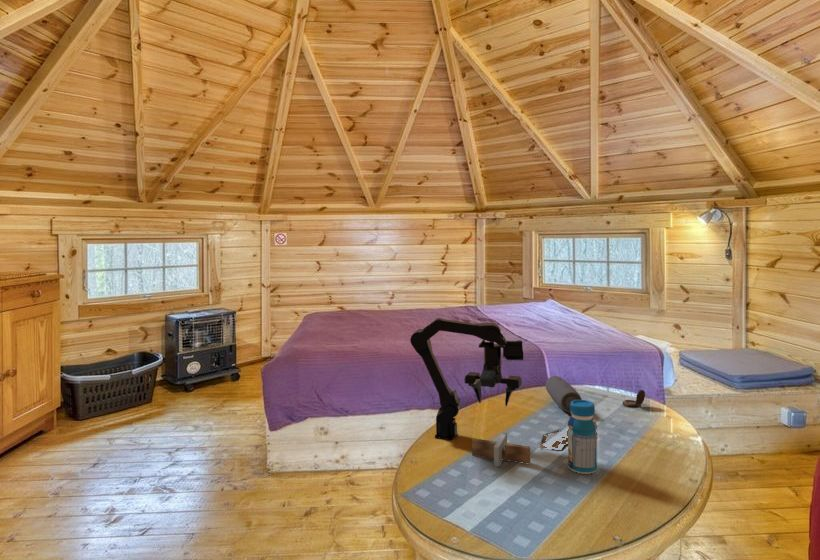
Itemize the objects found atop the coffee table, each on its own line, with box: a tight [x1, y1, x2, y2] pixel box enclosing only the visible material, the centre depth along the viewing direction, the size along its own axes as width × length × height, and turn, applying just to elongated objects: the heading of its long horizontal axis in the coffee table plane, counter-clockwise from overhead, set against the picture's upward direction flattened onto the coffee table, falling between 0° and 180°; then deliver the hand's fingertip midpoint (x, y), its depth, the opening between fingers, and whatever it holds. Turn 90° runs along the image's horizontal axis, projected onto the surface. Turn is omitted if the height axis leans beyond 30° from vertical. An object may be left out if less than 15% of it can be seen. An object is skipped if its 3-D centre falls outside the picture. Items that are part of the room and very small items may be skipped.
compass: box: [622, 389, 646, 408], centre depth 194 cm, size 8×8×7 cm
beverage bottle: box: [567, 399, 599, 475], centre depth 142 cm, size 8×8×20 cm
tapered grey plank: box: [493, 431, 508, 467], centre depth 151 cm, size 2×12×6 cm, turn 156°
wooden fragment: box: [539, 429, 568, 448], centre depth 165 cm, size 26×11×1 cm, turn 132°
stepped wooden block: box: [471, 438, 531, 464], centre depth 150 cm, size 18×2×5 cm, turn 66°
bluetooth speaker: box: [544, 375, 583, 414], centre depth 196 cm, size 23×9×10 cm, turn 179°
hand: (493, 404), depth 165 cm, fingers open, 9 cm apart
